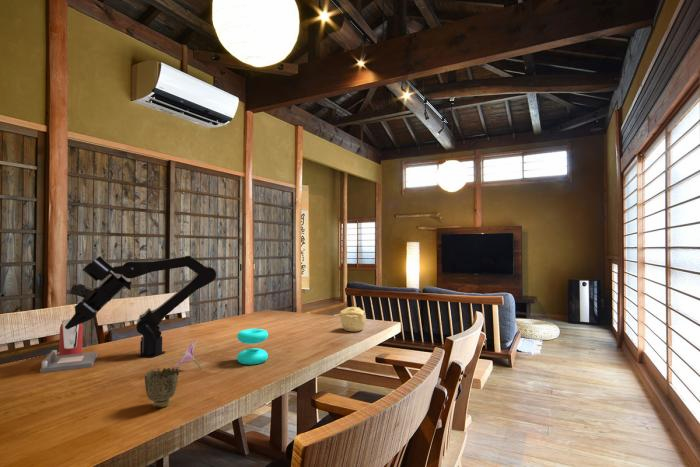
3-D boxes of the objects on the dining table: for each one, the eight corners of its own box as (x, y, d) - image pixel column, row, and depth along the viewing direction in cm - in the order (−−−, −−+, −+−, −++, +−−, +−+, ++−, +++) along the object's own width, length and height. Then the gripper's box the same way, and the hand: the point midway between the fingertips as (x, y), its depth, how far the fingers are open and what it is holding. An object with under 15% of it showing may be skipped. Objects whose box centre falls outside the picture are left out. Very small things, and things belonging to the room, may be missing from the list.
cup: (151, 400, 97) (152, 367, 97) (182, 399, 98) (183, 366, 98) (137, 412, 90) (138, 377, 90) (171, 411, 90) (172, 376, 90)
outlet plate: (97, 355, 137) (97, 346, 137) (91, 367, 124) (91, 356, 124) (51, 360, 131) (51, 350, 131) (40, 372, 118) (40, 362, 118)
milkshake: (83, 347, 128) (83, 315, 128) (63, 350, 124) (63, 318, 125) (80, 345, 131) (80, 314, 132) (60, 347, 127) (61, 316, 128)
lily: (196, 365, 129) (180, 340, 128) (222, 354, 125) (206, 329, 124) (171, 388, 118) (154, 362, 117) (198, 378, 114) (181, 350, 113)
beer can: (70, 357, 134) (71, 322, 134) (54, 356, 135) (55, 321, 136) (86, 352, 140) (87, 318, 141) (71, 351, 142) (72, 318, 142)
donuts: (231, 331, 131) (257, 326, 138) (231, 361, 130) (256, 355, 138) (248, 335, 124) (274, 330, 131) (247, 367, 123) (273, 361, 131)
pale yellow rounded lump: (338, 332, 175) (338, 308, 176) (343, 327, 187) (343, 304, 187) (363, 333, 173) (363, 309, 174) (367, 328, 185) (367, 305, 185)
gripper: (91, 272, 138) (52, 306, 133) (83, 276, 122) (38, 315, 116) (116, 293, 142) (79, 327, 136) (112, 300, 125) (70, 339, 120)
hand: (67, 327), depth 127 cm, fingers closed on milkshake, 4 cm apart
